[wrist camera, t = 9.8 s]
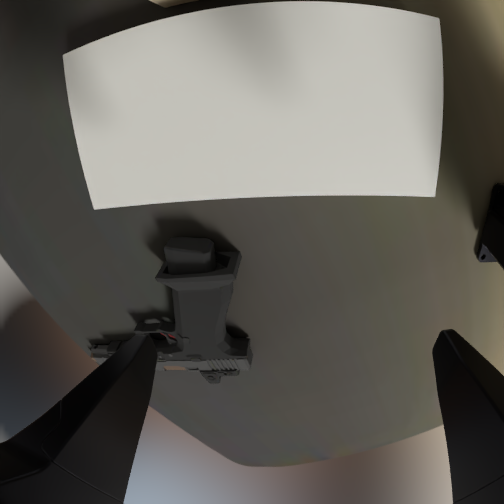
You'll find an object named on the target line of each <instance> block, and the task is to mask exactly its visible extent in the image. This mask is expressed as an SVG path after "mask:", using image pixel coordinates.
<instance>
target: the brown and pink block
mask: <svg viewBox="0 0 504 504" xmlns="http://www.w3.org/2000/svg"><path fill="white" fill-rule="evenodd" d="M149 1H152V2H154V3H156V4H158V5H160V6H162V7H164V8H166V7H170V6H174V5H178V4H183V3H187V2H192V1H197V0H149Z"/></svg>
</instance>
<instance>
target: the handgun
mask: <svg viewBox="0 0 504 504" xmlns="http://www.w3.org/2000/svg"><path fill="white" fill-rule="evenodd" d="M164 252H165V257H166V262H164V264H163V265H162V267H161V269H160V270H159V272H158V274H157V275H156V277H155V279H156V280H157V281H158V282H160V283H162V284H164V285H167V286H169V287H171V288H172V294H173V305H174V315H175V324H172V323H167V322H164V321H162V322H160V323H152V324H146V323H138V324H137V326H136V328H135V330H134V332H135V333H136V334H148V335H149V333H161V334H163V335H164V336H166V338H167V339H164V340H155V339H153V338H152V337H151V336H150V335H149V336H150V337H151V339H152V341H153V343H154V345H155V348H156V350H157V353H158V358H157V364H156V369H155V370H161V371H166V370H187V371H200V373H201V374H202V376H203V377H204V378H205V379H206V380H207V381H208V382H209V383H220V379H221V376H237V375H239V371H240V370H249V369H250V368H251V364H252V358H253V354H252V351H251V349H250V347H249V345H250V338H233V337H231V336H230V335H229V334H228V333H227V332H226V324H225V320H226V313H227V310H228V306H229V303H230V300H231V296H232V293H233V281H234V280H235V279H236V275H237V272H238V268H239V265H240V261H241V258H242V256H241V254H240V252H215V249H214V242H212V241H211V240H210V239H207V238H189V237H175V238H170V239H169V241H168V242H167V244H166V245H165V247H164ZM215 254H216V256H217V261H216V258H215ZM126 342H128V341H123V342H122V341H111V342H110V344H109V345H93V346H92V348H91V351H92V353H91V359H92V360H93V361H97V362H98V363H99V364H100V365H101V364H102V363H103V362H104V361H106V360H107V359H108V358H109V357H110V356H111V355H113V354H114V353H115V352H116V351H117V350H118V349H119V348H121V347H122V346H123V345H124V344H125V343H126Z"/></svg>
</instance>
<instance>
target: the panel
mask: <svg viewBox="0 0 504 504" xmlns="http://www.w3.org/2000/svg"><path fill="white" fill-rule="evenodd" d="M63 62H64V71H65V79H66V86H67V93H68V99H69V105H70V111H71V117H72V122H73V127H74V132H75V137H76V141H77V146H78V150H79V155H80V159H81V163H82V167H83V171H84V175H85V179H86V182H87V186H88V190H89V193H90V197H91V200H92V204H93V207H94V210H95V209H104V208H114V207H123V206H133V205H144V204H156V203H168V202H181V201H195V200H210V199H228V198H248V197H274V196H314V195H384V196H423V197H435V192H436V185H437V177H438V169H439V160H440V150H441V137H442V121H443V57H442V41H441V30H440V20H439V18H436V17H432V16H428V15H424V14H419V13H415V12H410V11H405V10H399V9H393V8H387V7H380V6H373V5H364V4H354V3H342V2H322V1H287V2H266V3H254V4H243V5H235V6H227V7H220V8H214V9H208V10H202V11H197V12H192V13H187V14H182V15H178V16H173V17H169V18H165V19H161V20H157V21H154V22H150V23H147V24H143V25H140V26H136V27H133V28H130V29H127V30H124V31H121V32H118V33H115V34H112V35H110V36H107V37H104V38H102V39H99V40H96V41H94V42H91V43H89V44H87V45H84V46H82V47H79V48H77V49H75V50H73V51H70V52H68V53H66V54H64V55H63Z"/></svg>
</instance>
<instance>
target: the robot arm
mask: <svg viewBox="0 0 504 504" xmlns="http://www.w3.org/2000/svg"><path fill="white" fill-rule="evenodd" d="M499 189H500V191H499ZM498 191H499V192H498ZM482 255H483V256H482ZM481 256H482V257H481ZM476 257H477V259H478V260H479V261H480V262H498V263H499V264H500V266H501V267H502V268H503V269H504V184H503V183H497V184H495V186H494V188H493V192H492V197H491V202H490V206H489V211H488V215H487V219H486V223H485V227H484V231H483V235H482V238H481V242H480V245H479V249H478V252H477V256H476ZM432 354H433V361H434V368H435V376H436V384H437V392H438V398H439V403H440V408H441V413H442V418H443V424H444V429H445V436H446V441H447V448H448V456H449V464H450V472H451V482H452V494H453V504H504V376H503V375H502V374H501V373H500V372H499V371H498V370H497V369H496V368H495V367H494V366H493V365H492V364H491V363H490V362H489V361H488V360H486V359H485V358H484V357H483V356H482V355H481V354H480V353H479V352H478V351H477V350H476V349H475V348H474V347H472V346H471V345H470V344H469V343H468V342H467V341H466V340H465V339H464V338H463V337H461V336H460V335H459V334H458V333H457V332H456V331H455V330H453V329H448V330H442V331H441V332H440V334H439V336H438V338H437V340H436V342H435V345H434V347H433V352H432ZM157 358H158V353H157V350H156V348H155V345H154V343H153V341H152V339H151V337H150V336H149V335H148V334H136V335H135V336H133V337H132V338H131V339H130V340H129V341H128V342H126V343H125V344H124V345H123V346H122V347H121V348H119V349H118V350H117V351H116V352H115V353H114V354H113V355H111V356H110V357H109V358H108V359H107V360H106V361H104V362H103V363H102V364H101V365H100V366H99V367H97V368H96V369H95V370H94V371H93V372H92V373H91V374H89V375H88V376H87V377H86V378H85V379H84V380H83V381H81V382H80V383H79V384H78V385H77V386H76V387H74V388H73V389H72V390H71V391H70V392H69V393H68V394H66V396H64V397H63V398H62V400H60V401H58V402H57V403H56V404H55V405H54V406H53V407H51V408H50V409H49V410H48V411H47V412H46V413H44V414H43V415H42V416H41V417H39V418H38V419H37V420H35V421H34V422H33V423H31V424H30V425H28V426H27V427H26V428H24V429H23V430H21V431H20V432H19V433H17V434H16V435H14V436H13V437H12V438H10V439H9V440H7V441H5V442H2V443H0V504H123V502H124V498H125V494H126V489H127V485H128V480H129V477H130V473H131V469H132V465H133V460H134V457H135V453H136V449H137V445H138V441H139V438H140V434H141V430H142V426H143V423H144V419H145V416H146V412H147V408H148V405H149V401H150V397H151V392H152V386H153V380H154V375H155V369H156V364H157Z"/></svg>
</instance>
